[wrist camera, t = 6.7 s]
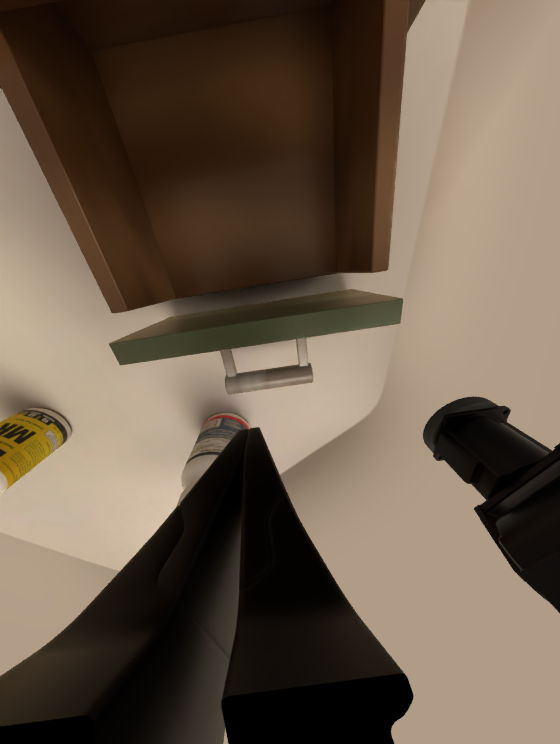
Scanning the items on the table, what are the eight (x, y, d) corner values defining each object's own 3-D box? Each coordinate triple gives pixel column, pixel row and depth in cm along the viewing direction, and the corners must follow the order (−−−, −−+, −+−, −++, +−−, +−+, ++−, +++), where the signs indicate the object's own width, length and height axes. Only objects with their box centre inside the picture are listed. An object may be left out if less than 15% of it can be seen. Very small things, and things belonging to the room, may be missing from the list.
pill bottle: (246, 451, 24) (234, 541, 16) (201, 444, 23) (164, 534, 15) (255, 415, 22) (247, 498, 14) (205, 406, 21) (165, 488, 13)
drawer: (351, 354, 18) (392, 394, 12) (192, 377, 18) (153, 428, 12) (355, -1, 10) (488, -437, 4) (72, 53, 10) (-216, -265, 4)
